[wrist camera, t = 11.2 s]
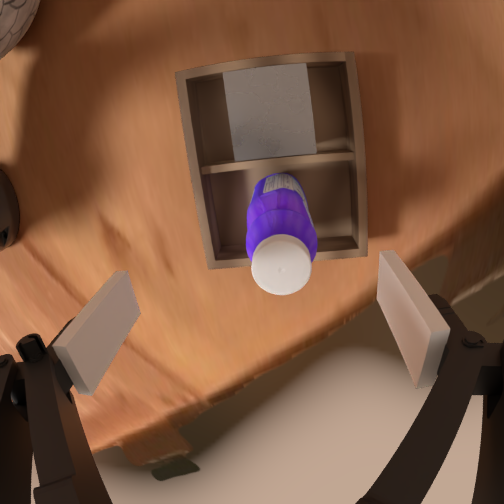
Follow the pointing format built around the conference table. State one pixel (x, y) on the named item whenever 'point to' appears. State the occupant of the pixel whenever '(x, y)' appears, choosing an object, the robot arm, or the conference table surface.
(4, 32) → the decorative sphere
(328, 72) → the crate
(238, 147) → the block
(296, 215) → the bottle
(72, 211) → the conference table surface
